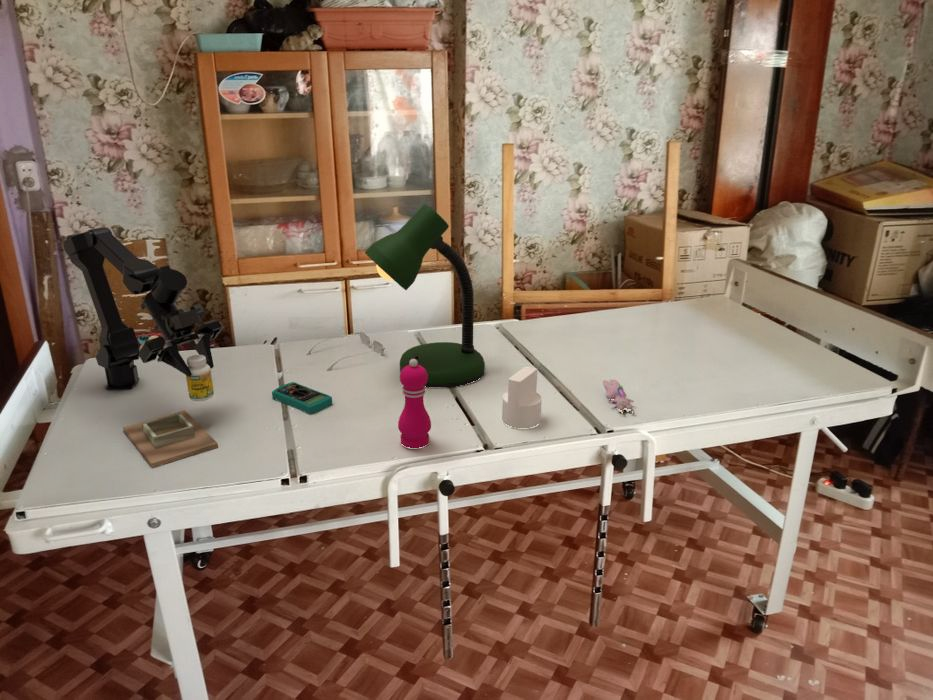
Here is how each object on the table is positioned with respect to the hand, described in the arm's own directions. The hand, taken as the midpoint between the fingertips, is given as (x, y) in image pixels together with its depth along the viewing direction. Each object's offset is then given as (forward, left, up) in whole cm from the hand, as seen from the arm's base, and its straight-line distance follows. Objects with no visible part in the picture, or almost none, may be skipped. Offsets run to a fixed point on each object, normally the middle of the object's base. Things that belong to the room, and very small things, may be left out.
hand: (201, 371), depth 168 cm
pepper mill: (+47, -11, -14) cm, 50 cm away
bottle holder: (-7, -6, -13) cm, 16 cm away
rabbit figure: (+97, +6, -14) cm, 98 cm away
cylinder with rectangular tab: (+72, -2, -14) cm, 73 cm away
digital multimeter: (+20, +11, -14) cm, 27 cm away
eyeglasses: (+28, +40, -14) cm, 51 cm away
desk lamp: (+51, +27, -14) cm, 59 cm away
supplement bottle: (-1, +1, -7) cm, 7 cm away
